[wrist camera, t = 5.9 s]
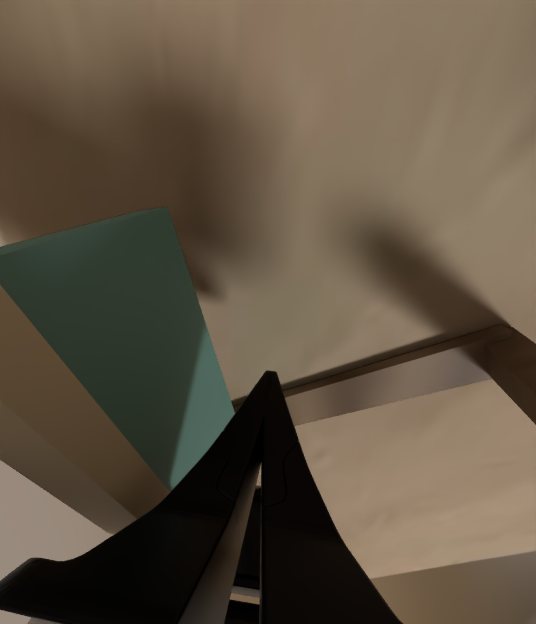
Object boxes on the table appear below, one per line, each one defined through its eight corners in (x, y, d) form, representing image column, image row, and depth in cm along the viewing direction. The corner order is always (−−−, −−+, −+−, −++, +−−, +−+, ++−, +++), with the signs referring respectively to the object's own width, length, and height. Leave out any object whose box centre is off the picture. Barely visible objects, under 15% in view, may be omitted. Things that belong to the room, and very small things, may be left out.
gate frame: (238, 432, 19) (203, 599, 12) (216, 411, 18) (159, 584, 11) (515, 362, 13) (842, 648, 5) (511, 321, 11) (943, 622, 4)
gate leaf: (243, 426, 16) (211, 582, 10) (219, 426, 16) (174, 578, 10) (174, 205, 9) (-124, 294, 2) (132, 211, 9) (-230, 303, 3)
